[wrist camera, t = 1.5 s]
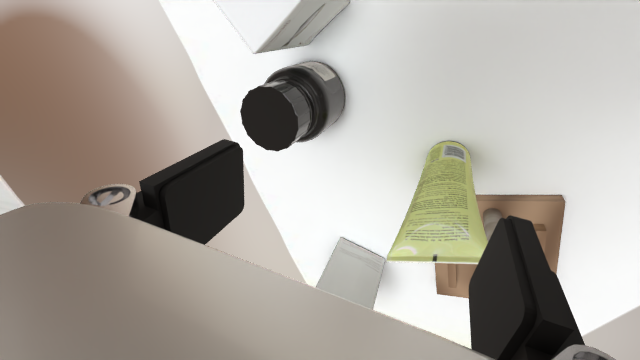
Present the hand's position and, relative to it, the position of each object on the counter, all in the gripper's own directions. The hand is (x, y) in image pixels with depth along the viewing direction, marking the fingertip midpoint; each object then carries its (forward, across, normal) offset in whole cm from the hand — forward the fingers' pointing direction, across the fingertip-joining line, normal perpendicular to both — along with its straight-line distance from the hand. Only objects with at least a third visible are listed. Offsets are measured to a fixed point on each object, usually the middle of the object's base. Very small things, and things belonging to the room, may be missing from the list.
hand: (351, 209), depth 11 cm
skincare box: (+30, +3, +29) cm, 42 cm away
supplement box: (+30, +15, -7) cm, 34 cm away
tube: (+30, -5, +9) cm, 31 cm away
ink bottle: (+30, +13, +4) cm, 33 cm away
